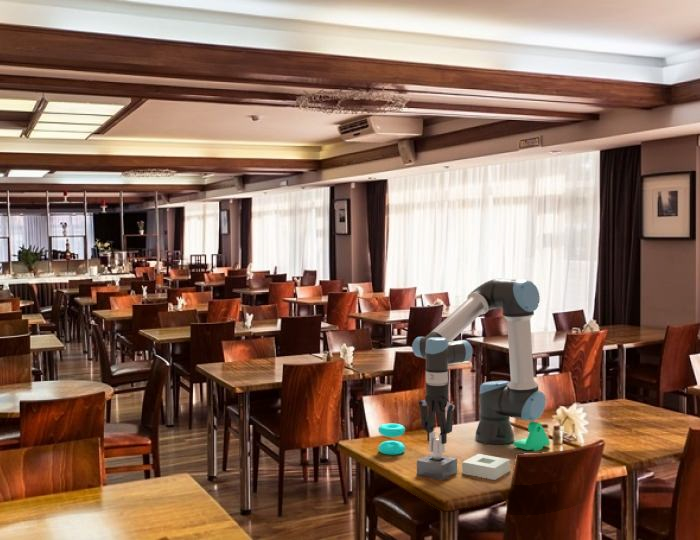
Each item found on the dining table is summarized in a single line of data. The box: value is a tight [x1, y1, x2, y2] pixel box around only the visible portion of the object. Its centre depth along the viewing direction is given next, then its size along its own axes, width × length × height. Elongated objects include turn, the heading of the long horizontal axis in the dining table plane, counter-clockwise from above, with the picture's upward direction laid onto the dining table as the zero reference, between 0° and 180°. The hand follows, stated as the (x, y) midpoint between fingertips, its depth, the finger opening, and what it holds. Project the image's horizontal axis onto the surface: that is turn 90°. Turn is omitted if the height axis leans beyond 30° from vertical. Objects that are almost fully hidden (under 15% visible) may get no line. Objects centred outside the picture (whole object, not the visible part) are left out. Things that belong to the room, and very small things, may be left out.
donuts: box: [378, 422, 406, 456], centre depth 281 cm, size 10×10×10 cm
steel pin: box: [432, 437, 442, 462], centre depth 254 cm, size 3×3×12 cm
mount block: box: [416, 452, 458, 481], centre depth 254 cm, size 10×10×5 cm
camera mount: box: [513, 421, 550, 452], centre depth 285 cm, size 12×8×10 cm, turn 125°
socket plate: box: [461, 453, 511, 481], centre depth 255 cm, size 12×12×4 cm
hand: (436, 451), depth 254 cm, fingers closed on steel pin, 3 cm apart
